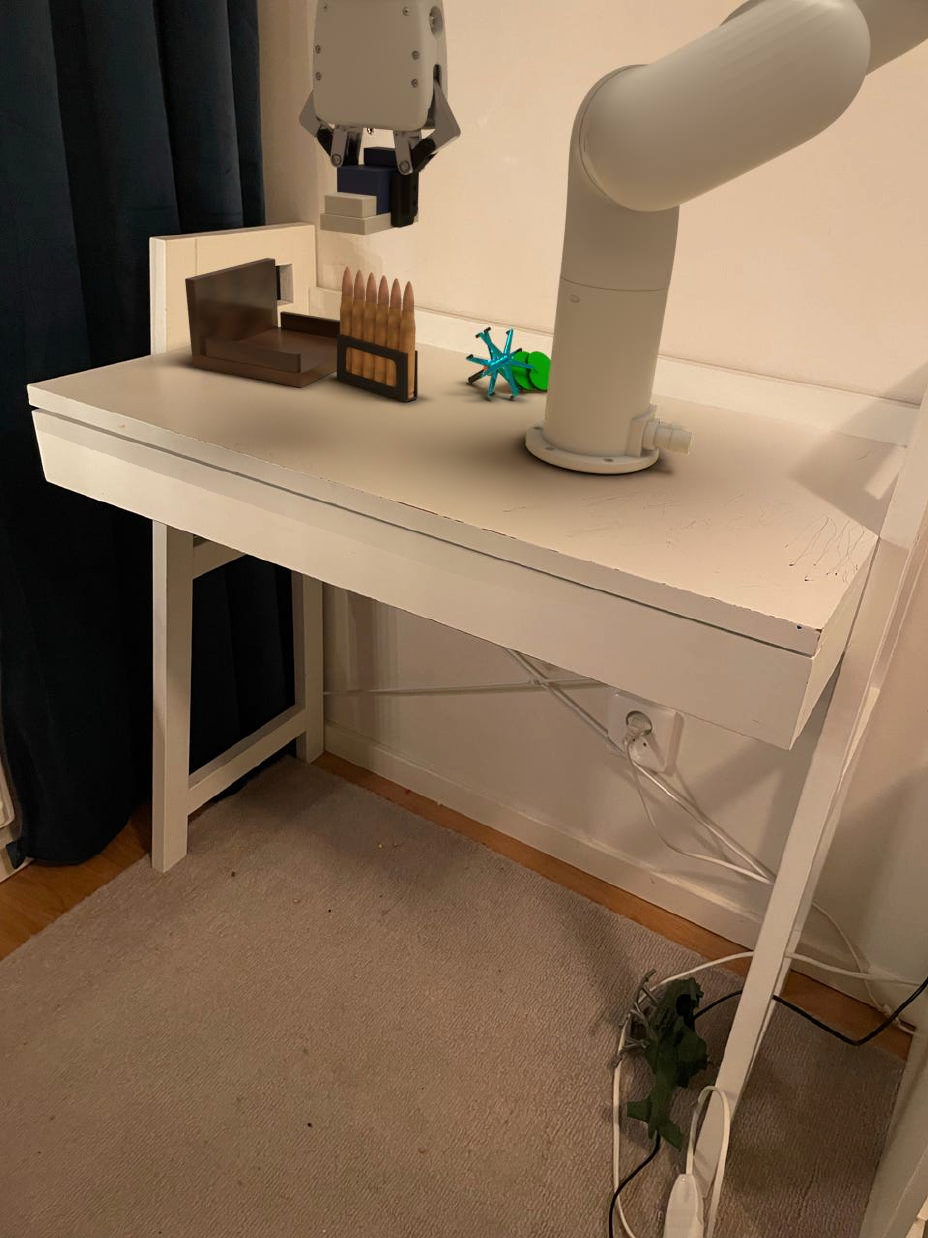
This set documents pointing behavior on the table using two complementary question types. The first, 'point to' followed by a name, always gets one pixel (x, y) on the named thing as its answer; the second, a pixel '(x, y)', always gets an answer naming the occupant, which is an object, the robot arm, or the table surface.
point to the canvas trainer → (362, 195)
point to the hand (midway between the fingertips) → (377, 219)
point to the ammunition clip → (377, 338)
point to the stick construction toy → (512, 367)
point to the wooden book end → (256, 328)
